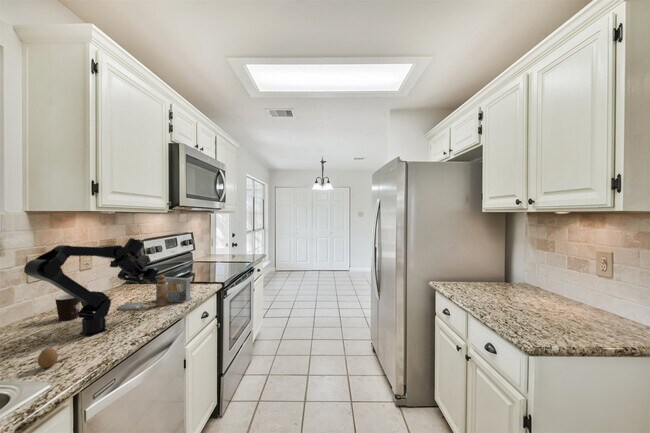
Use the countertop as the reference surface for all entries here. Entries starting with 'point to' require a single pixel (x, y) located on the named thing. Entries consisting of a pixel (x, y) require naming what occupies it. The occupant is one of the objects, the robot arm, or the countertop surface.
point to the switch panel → (178, 289)
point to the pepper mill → (161, 292)
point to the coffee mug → (67, 307)
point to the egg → (47, 358)
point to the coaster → (130, 306)
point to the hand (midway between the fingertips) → (149, 283)
